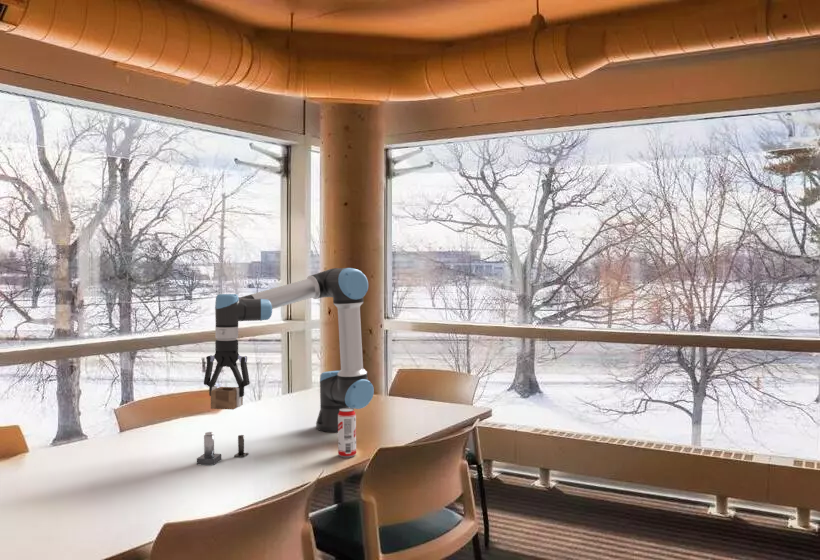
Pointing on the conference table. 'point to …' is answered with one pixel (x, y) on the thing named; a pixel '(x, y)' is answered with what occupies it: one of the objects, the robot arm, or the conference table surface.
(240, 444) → the stand
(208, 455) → the hub
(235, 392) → the brown box
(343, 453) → the beer can
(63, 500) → the conference table surface
